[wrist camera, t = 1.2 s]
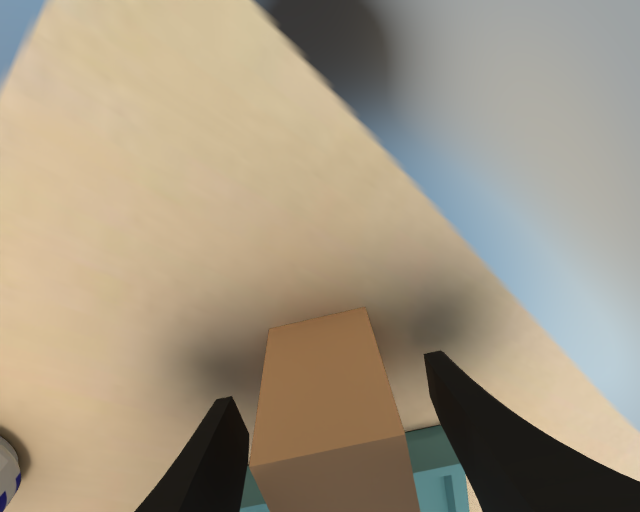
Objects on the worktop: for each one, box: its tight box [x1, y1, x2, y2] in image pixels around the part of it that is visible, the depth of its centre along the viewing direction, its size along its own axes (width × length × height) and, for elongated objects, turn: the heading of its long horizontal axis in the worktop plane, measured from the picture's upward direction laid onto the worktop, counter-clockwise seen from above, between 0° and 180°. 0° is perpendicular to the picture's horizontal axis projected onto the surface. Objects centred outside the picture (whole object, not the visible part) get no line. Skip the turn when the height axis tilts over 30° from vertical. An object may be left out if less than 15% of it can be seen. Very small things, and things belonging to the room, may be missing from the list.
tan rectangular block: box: [249, 307, 420, 512], centre depth 12 cm, size 4×4×6 cm
